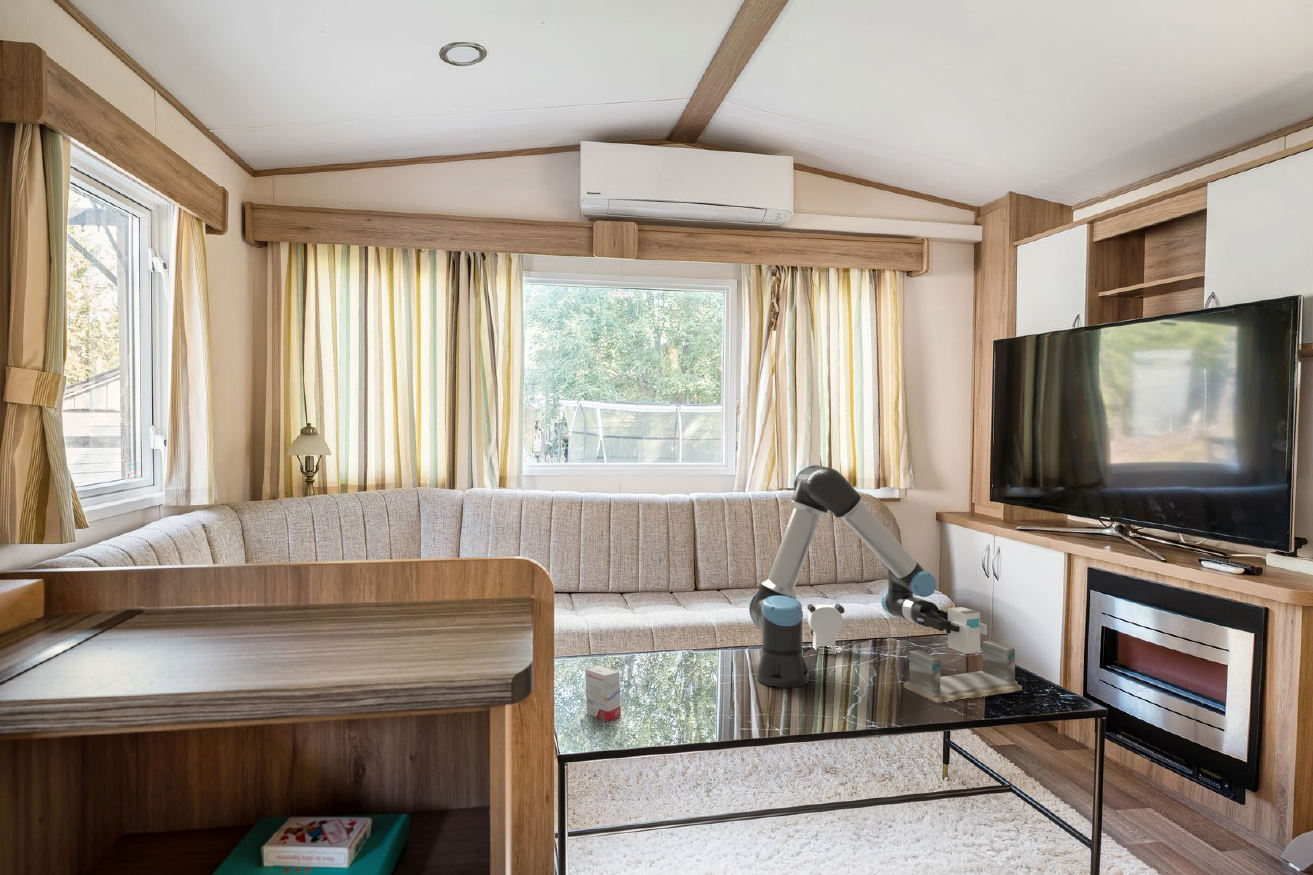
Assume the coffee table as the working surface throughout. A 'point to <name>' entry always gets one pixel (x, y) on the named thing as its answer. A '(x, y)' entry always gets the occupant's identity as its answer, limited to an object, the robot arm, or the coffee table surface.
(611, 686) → the ink box
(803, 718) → the coffee table surface
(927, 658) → the board
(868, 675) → the coffee table surface
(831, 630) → the panda figurine
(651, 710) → the coffee table surface
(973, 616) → the block
